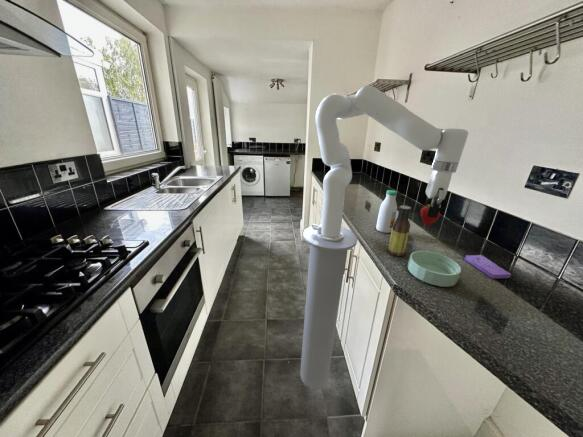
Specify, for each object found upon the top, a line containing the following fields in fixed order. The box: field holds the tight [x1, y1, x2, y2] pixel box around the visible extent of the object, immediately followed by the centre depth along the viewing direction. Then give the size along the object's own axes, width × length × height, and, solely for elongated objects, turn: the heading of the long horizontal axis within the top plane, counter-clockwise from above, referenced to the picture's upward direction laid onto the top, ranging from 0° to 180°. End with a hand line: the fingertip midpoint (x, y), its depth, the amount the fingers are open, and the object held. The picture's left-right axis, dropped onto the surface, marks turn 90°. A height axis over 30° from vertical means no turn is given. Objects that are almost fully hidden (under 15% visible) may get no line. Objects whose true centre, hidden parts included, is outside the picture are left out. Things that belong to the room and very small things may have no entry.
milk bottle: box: [375, 189, 398, 234], centre depth 111 cm, size 8×8×20 cm
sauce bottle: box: [388, 205, 412, 257], centre depth 90 cm, size 7×6×20 cm
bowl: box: [407, 250, 462, 288], centre depth 80 cm, size 15×15×5 cm
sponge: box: [464, 254, 512, 279], centre depth 86 cm, size 7×13×2 cm, turn 4°
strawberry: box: [420, 204, 441, 227], centre depth 87 cm, size 6×8×10 cm
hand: (429, 213), depth 87 cm, fingers closed on strawberry, 7 cm apart
